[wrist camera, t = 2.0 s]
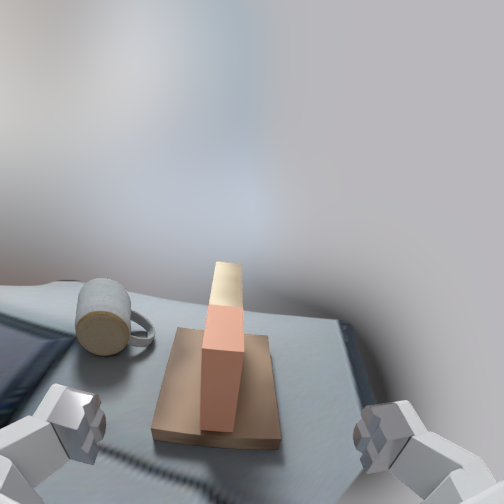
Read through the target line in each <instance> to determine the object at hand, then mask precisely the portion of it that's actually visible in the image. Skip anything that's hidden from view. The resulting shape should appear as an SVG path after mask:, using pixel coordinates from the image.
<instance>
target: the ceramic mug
mask: <svg viewBox="0 0 504 504" xmlns="http://www.w3.org/2000/svg"><path fill="white" fill-rule="evenodd" d="M130 320H132V321H134V322H136V323H137V324H139V325H141V326H142V327H143V328H144V329H146V331H147V332H148V337H147V338H139V337H136V336H132V335H131V321H130ZM75 330H76V336H77V339H78V341H79V343H80V344H81V345H82V346H83V347H84V348H85V349H86V350H87V351H89V352H91V353H93V354H96V355H101V356H108V355H113V354H116V353H118V352H120V351H122V350H123V349H124V348H125V347H126V345H127V344H129V345H131V346H135V347H146V346H148V345H150V344H151V342H152V340H153V338H154V336H155V328H154V326H153V324H152V323H151V322H150V321H149V320H148V319H147V318H145V317H144V316H142V315H141V314H139V313H137V312H135V311H133V310H131V301H130V297H129V295H128V293H127V291H126V290H125V288H124V287H122V286H121V285H120V284H119V283H117V282H115V281H113V280H110V279H106V278H105V279H104V278H98V279H94V280H91V281H89V282H87V283H86V284H85V285H84V286H83V287H82V289H81V290H80V293H79V296H78V304H77V311H76V319H75Z"/></svg>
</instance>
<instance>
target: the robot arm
mask: <svg viewBox="0 0 504 504" xmlns="http://www.w3.org/2000/svg"><path fill="white" fill-rule="evenodd" d="M100 404H101V401H100V398H99V395H97V394H94V393H90V392H86V391H82V390H78V389H74V388H71V387H66V386H63V385H59V384H56V383H55V384H54V385H52V386H51V387H50V389H49V390H48V392H47V394H46V395H45V397H44V398H43V400H42V402H41V403H40V405H39V407H38V408H37V410H36V412H35V413H34V415H33V417H32V416H27V417H25V418H23V419H21V420H19V421H17V422H15V423H12V424H10V425H8V426H6V427H4V428H2V429H0V504H44V502H43V500H42V498H41V497H40V496H39V495H38V494H37V493H36V491H35V490H34V489H33V488H35V487H36V486H37V485H39V484H40V483H41V482H43V481H44V480H45V479H46V478H48V477H49V476H50V475H52V474H53V473H54V472H55V471H57V470H58V469H59V468H61V467H62V466H63V465H64V464H66V463H67V462H68V461H70V460H69V459H72V460H75V461H79V462H83V463H87V464H91V465H94V463H95V460H96V457H97V454H98V452H99V448H98V446H97V443H98V442H99V441H101V440H102V439H103V437H104V434H105V429H106V418H105V414H104V412H103V411H102V410H101V409H100V408H99V407H100ZM361 416H362V418H363V419H361V420H360V421H359V422H358V423H356V426H355V428H354V433H353V440H354V445H355V447H356V449H357V450H358V451H360V452H361V453H362V455H361V458H360V461H361V463H362V466H363V468H364V471H365V473H366V474H368V473H374V472H379V471H385V470H388V471H389V472H390V473H391V474H393V475H394V476H395V477H396V478H398V479H399V480H400V481H401V482H402V483H404V484H405V485H406V486H407V487H409V488H410V489H411V490H412V491H414V492H415V493H416V494H418V495H419V496H420V497H421V498H423V499H424V501H423V502H422V503H421V504H504V479H503V480H501V481H500V482H498V483H497V481H496V480H495V478H494V477H493V475H492V474H491V472H490V470H489V469H488V467H487V466H486V464H485V463H484V461H483V460H482V458H481V457H478V456H477V455H475V454H473V453H471V452H469V451H467V450H465V449H463V448H461V447H459V446H458V445H455V444H454V443H452V442H450V441H448V440H446V439H445V438H443V437H441V436H439V435H437V434H435V433H434V432H428V431H427V429H426V428H425V426H424V425H423V423H422V421H421V420H420V418H419V417H418V415H417V413H416V412H415V410H414V409H413V407H412V405H411V404H410V402H408V401H407V400H404V401H398V402H393V403H384V404H377V405H370V406H366V407H365V408H364V409H363V411H362V413H361Z"/></svg>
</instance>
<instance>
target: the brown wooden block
mask: <svg viewBox="0 0 504 504" xmlns="http://www.w3.org/2000/svg"><path fill="white" fill-rule="evenodd" d="M242 302H243V301H242V264H236V263H227V262H216V266H215V272H214V278H213V284H212V290H211V296H210V302H209V304H212V305H222V306H233V307H243V303H242ZM204 331H205V330H196V329H187V328H179V327H178V328H177V331H176V335H175V338H174V342H173V346H172V349H171V353H170V356H169V360H168V364H167V367H166V371H165V375H164V378H163V382H162V386H161V390H160V394H159V398H158V402H157V406H156V410H155V414H154V418H153V422H152V426H151V431H152V436H153V439H154V440H160V441H166V442H173V443H180V444H188V445H197V446H207V447H218V448H234V449H261V450H278V447H279V445H280V442H281V431H280V424H279V416H278V409H277V401H276V394H275V387H274V379H273V372H272V364H271V357H270V350H269V342H268V336H265V335H251V334H244V358H243V365H242V372H241V379H240V386H239V393H238V400H237V407H236V414H235V421H234V428H233V432H219V431H207V430H200V389H201V357H202V344H203V337H204Z"/></svg>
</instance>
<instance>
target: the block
mask: <svg viewBox="0 0 504 504" xmlns="http://www.w3.org/2000/svg"><path fill="white" fill-rule="evenodd" d="M243 358H244V322H243V307H233V306H222V305H212V304H209V306H208V312H207V318H206V325H205V331H204V337H203V344H202V357H201V389H200V430H207V431H219V432H233V428H234V421H235V414H236V407H237V400H238V393H239V386H240V379H241V372H242V365H243Z"/></svg>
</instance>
